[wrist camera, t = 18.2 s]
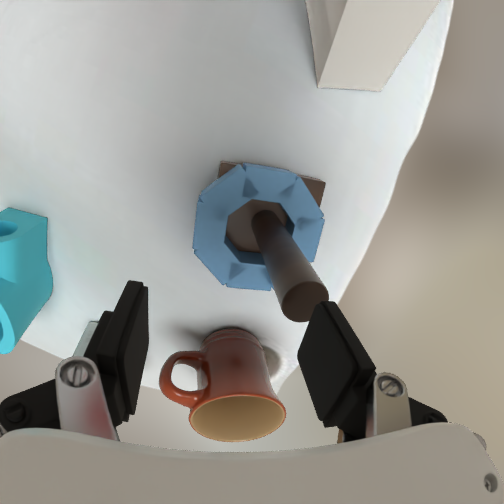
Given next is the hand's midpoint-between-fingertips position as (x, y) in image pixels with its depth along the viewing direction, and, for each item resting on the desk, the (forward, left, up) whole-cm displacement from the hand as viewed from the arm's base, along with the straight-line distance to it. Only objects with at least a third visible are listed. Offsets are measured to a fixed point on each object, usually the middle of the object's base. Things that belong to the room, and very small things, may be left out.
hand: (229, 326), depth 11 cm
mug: (+15, +2, -16) cm, 22 cm away
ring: (0, +3, -14) cm, 14 cm away
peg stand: (0, +4, -16) cm, 16 cm away
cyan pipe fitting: (+8, -22, -16) cm, 28 cm away
